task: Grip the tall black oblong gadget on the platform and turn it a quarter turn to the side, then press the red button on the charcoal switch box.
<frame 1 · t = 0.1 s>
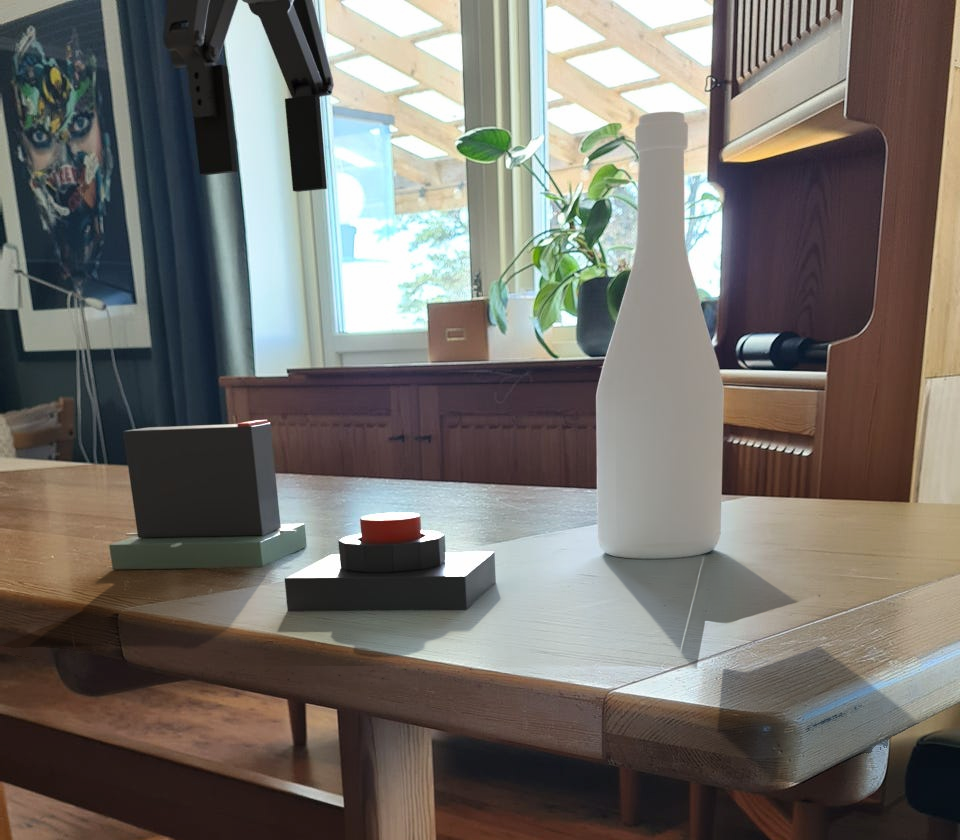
hand: (267, 182, 97), 28 cm above the table, tool pointing down, fingers open, 13 cm apart
wine bottle: (658, 554, 101), on the table
button: (391, 529, 85), point 4 cm above the table, slide at 0.1 cm
switch box: (395, 597, 87), on the table
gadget: (203, 479, 106), point 6 cm above the table, hinge at 0.0°
platform: (213, 557, 108), on the table
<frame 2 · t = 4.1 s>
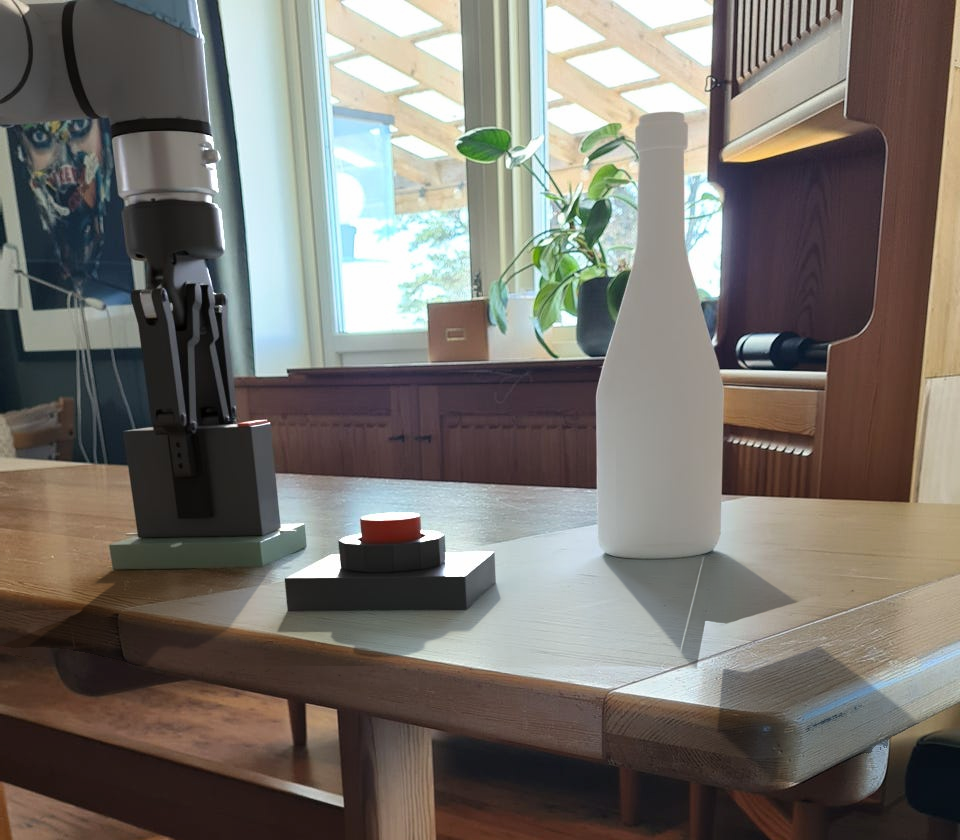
hand: (207, 513, 107), 4 cm above the table, tool pointing down, fingers closed on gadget, 4 cm apart
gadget: (203, 479, 106), point 6 cm above the table, hinge at -0.1°, touching gripper
everything else where it was.
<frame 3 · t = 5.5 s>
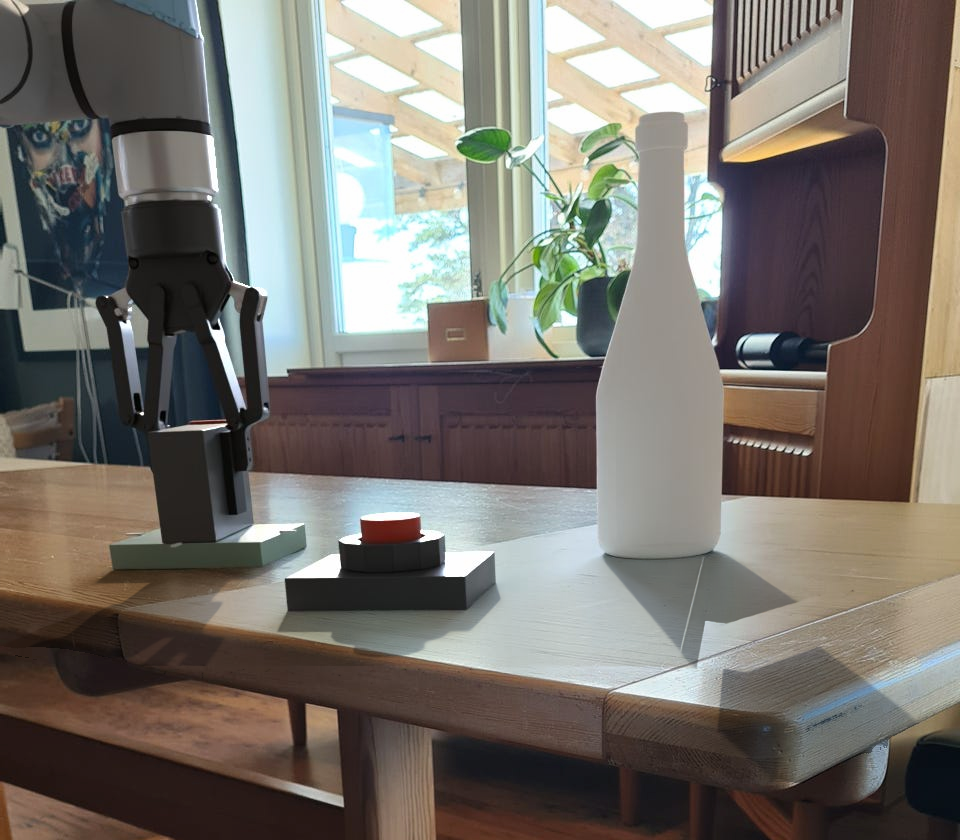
hand: (207, 513, 107), 4 cm above the table, tool pointing down, fingers closed on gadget, 4 cm apart
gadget: (203, 479, 106), point 6 cm above the table, hinge at 94.8°, touching gripper
everything else where it was.
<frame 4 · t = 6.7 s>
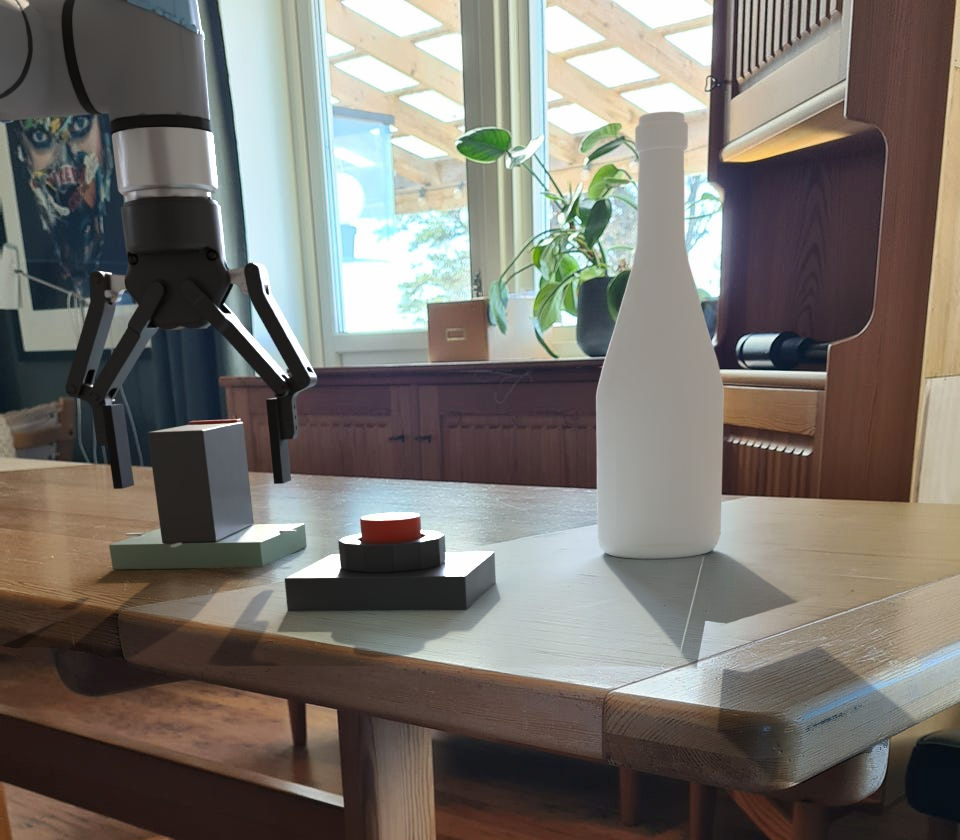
hand: (202, 485, 106), 6 cm above the table, tool pointing down, fingers open, 13 cm apart
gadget: (203, 479, 106), point 6 cm above the table, hinge at 94.8°
everything else where it was.
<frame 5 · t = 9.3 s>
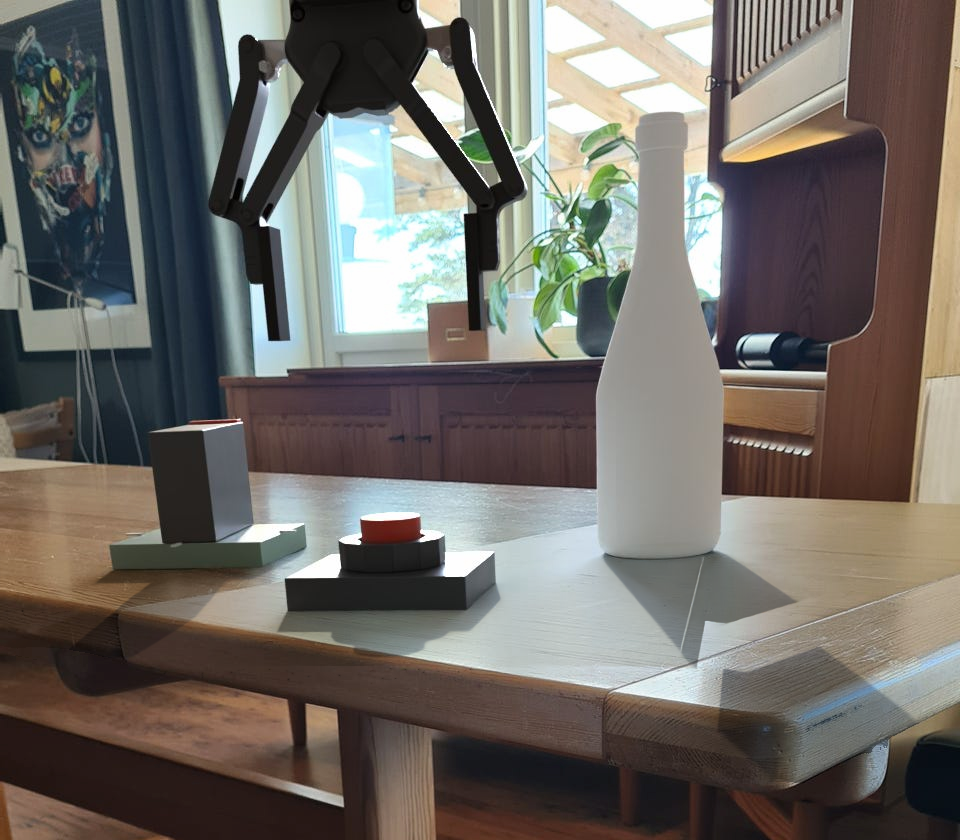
hand: (377, 336, 81), 16 cm above the table, tool pointing down, fingers open, 12 cm apart
nothing on the table moved.
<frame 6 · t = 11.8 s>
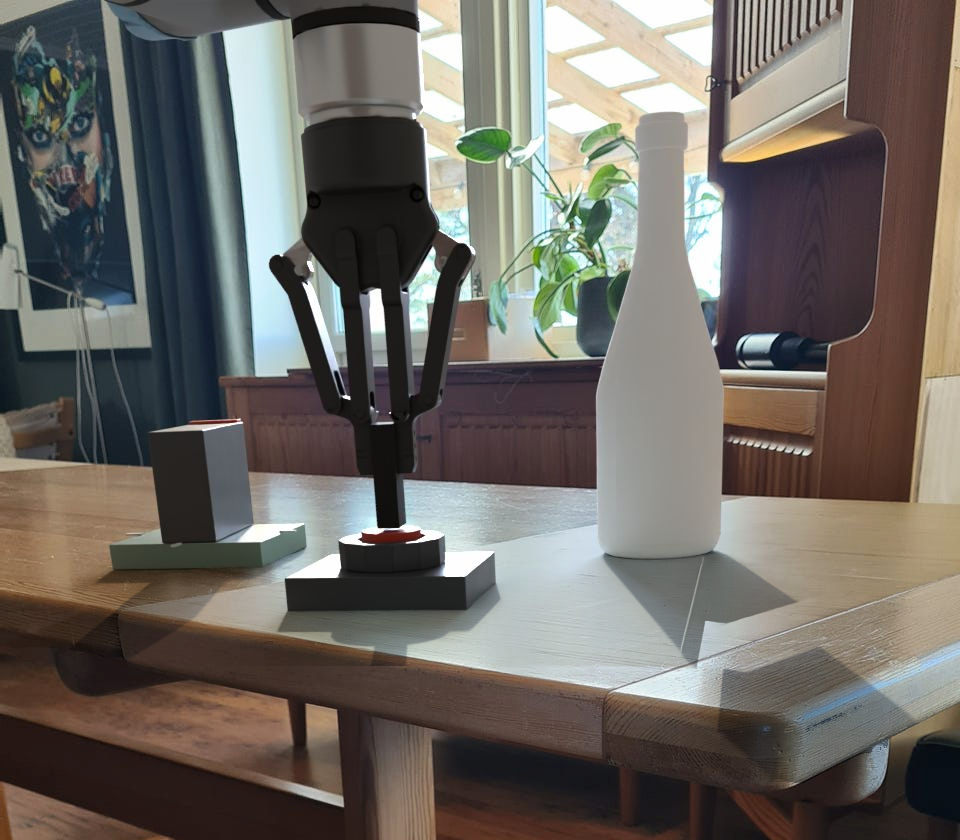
hand: (391, 525, 85), 5 cm above the table, tool pointing down, fingers closed
button: (391, 542, 86), point 4 cm above the table, slide at -0.8 cm, touching gripper
everything else where it was.
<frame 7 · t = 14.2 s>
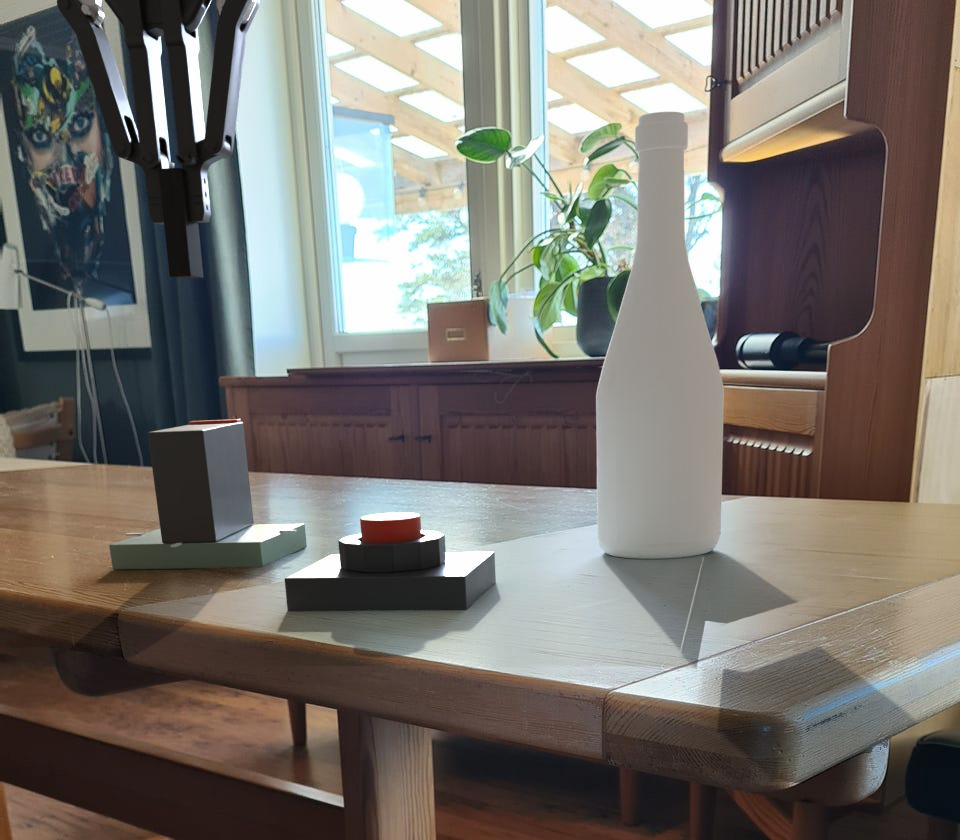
hand: (186, 276, 88), 21 cm above the table, tool pointing down, fingers closed
button: (391, 529, 85), point 4 cm above the table, slide at 0.1 cm
everything else where it was.
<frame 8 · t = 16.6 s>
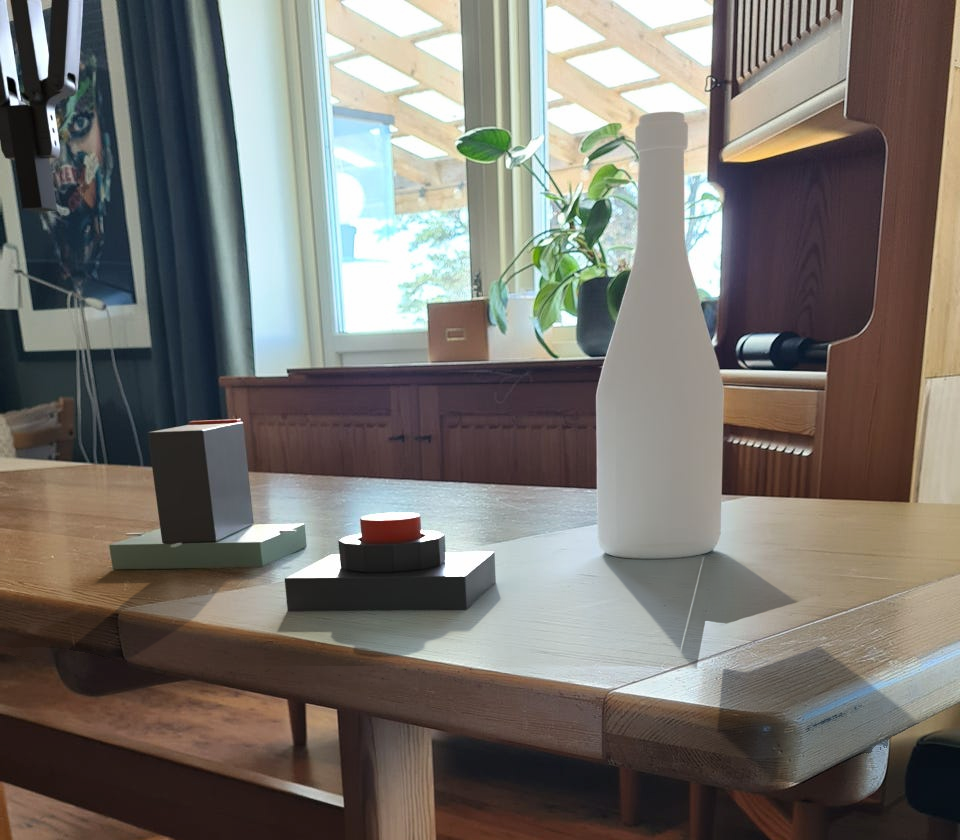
hand: (40, 209, 94), 26 cm above the table, tool pointing down, fingers closed
nothing on the table moved.
at the end: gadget at +95° (first picture: +0°); button pushed in 1.0 cm at the most during the clip, back to where it started at the end; button slide at 0.1 cm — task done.
